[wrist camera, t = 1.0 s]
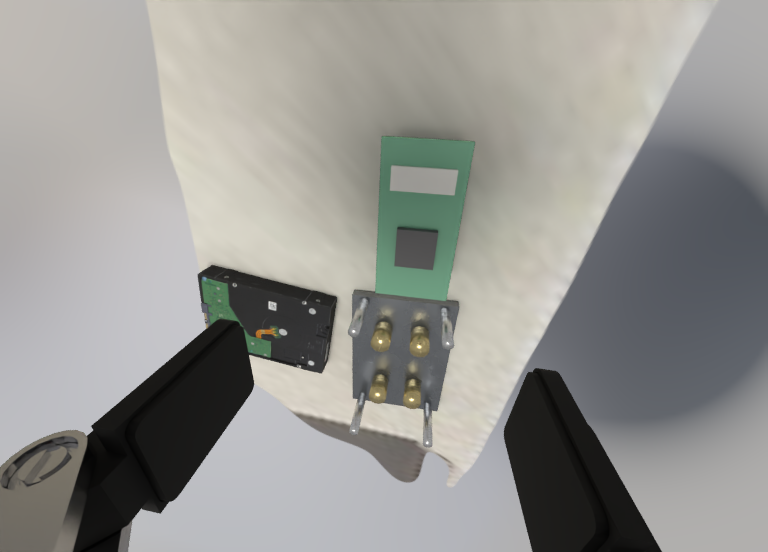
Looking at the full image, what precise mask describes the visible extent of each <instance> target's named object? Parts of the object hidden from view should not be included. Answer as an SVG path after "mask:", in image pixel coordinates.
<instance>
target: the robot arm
mask: <svg viewBox="0 0 768 552" xmlns="http://www.w3.org/2000/svg"><path fill="white" fill-rule="evenodd" d="M253 387H254V380H253V374H252V369H251V364H250V358H249V353H248V348H247V343H246V337H245V332H244V328H243V327H242V326H240V323H239V322H238V321H234V320H227V319H218V320H216V321H215V322H214V323H213V324H211V325H210V326H209V327H208V328H207V329H206V330H204V331H203V332H202V333H201V334H200V335H198V336H197V337H196V338H195V339H194V340H193V341H191V342H190V343H189V344H188V345H187V346H185V347H184V348H183V349H182V350H181V351H180V352H178V353H177V354H176V355H175V356H174V357H173V358H171V359H170V360H169V361H168V362H166V363H165V365H163V366H162V367H161V368H159V369H158V370H157V371H156V372H155V373H153V375H151V376H150V377H149V378H148V379H146V380H145V381H144V382H143V383H142V384H141V385H139V386H138V387H137V388H136V389H135V390H133V391H132V392H131V393H130V394H129V395H127V396H126V397H125V398H124V399H123V400H122V401H120V402H119V403H118V404H117V405H116V406H114V407H113V408H112V409H111V410H110V411H109V412H107V413H106V414H105V415H104V416H103V417H101V418H100V419H99V420H98V421H97V422H95V423H94V424H93V425H92V428H93V431H92V432H91V433H90V434H89V435H87V436H86V435H85V434H84V433H83V432H80V431H78V430H68V431H62V432H58V433H54V434H51V435H49V436H46V437H44V438H41V439H39V440H37V441H35V442H33V443H31V444H30V445H28V446H26V447H24V448H23V449H22V450H20V451H19V452H17V453H16V454H14V455H13V456H12V457H10V458H9V459H8V460H7V461H6V462H5V463H4V464H3V465H2V466H1V467H0V552H128V547H129V540H130V533H131V525H132V520H133V518H134V517H135V515H137V513H138V512H139V511H140V509H141V508H142V509H143V510H147V511H152V512H156V513H161V512H162V511H163V510H164V508H165V507H166V505H167V504H168V503H169V502H170V501H173V500H175V499H176V498H177V497H178V495H179V494H180V493H181V492H182V490H183V489H184V487H185V486H186V484H187V483H188V482H189V480H190V479H191V477H192V476H193V475H194V473H195V472H196V470H197V469H198V467H199V466H200V465H201V463H202V462H203V460H204V459H205V457H206V456H207V455H208V453H209V452H210V450H211V449H212V448H213V446H214V445H215V443H216V442H217V440H218V439H219V438H220V436H221V435H222V433H223V432H224V431H225V429H226V428H227V426H228V425H229V423H230V422H231V421H232V419H233V418H234V416H235V415H236V413H237V412H238V411H239V409H240V408H241V407H242V405H243V404H244V402H245V401H246V399H247V398H248V396H249V395H250V394H251V392H252V390H253ZM504 439H505V444H506V448H507V452H508V455H509V460H510V464H511V468H512V472H513V476H514V480H515V484H516V488H517V492H518V496H519V499H520V504H521V508H522V512H523V515H524V520H525V524H526V527H527V532H528V536H529V539H530V543H531V547H532V551H533V552H662V551H661V550H660V548H659V546H658V544H657V543H656V541H655V539H654V537H653V536H652V533H651V532H650V530H649V528H648V527H647V525H646V523H645V521H644V519H643V518H642V516H641V514H640V512H639V511H638V509H637V507H636V505H635V503H634V502H633V500H632V498H631V496H630V495H629V493H628V491H627V489H626V488H625V486H624V484H623V482H622V480H621V479H620V477H619V475H618V473H617V472H616V470H615V468H614V466H613V465H612V463H611V461H610V459H609V457H608V456H607V454H606V452H605V450H604V449H603V447H602V445H601V443H600V442H599V440H598V438H597V436H596V434H595V433H594V431H593V430H592V428H591V427H590V426H589V425H588V424H587V422H586V420H585V419H584V417H583V415H582V413H581V411H580V410H579V408H578V406H577V404H576V403H575V401H574V399H573V397H572V395H571V393H570V392H569V390H568V388H567V387H566V384H565V383H564V381H563V379H562V377H561V376H560V374H559V373H558V372H556V371H552V370H545V369H539V368H536V369H534V371H533V372H528V373H527V375H526V377H525V380H524V382H523V385H522V387H521V389H520V392H519V394H518V397H517V399H516V401H515V404H514V406H513V409H512V411H511V414H510V416H509V418H508V421H507V423H506V426H505V428H504Z"/></svg>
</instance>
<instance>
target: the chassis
mask: <svg viewBox="0 0 768 552" xmlns="http://www.w3.org/2000/svg"><path fill="white" fill-rule="evenodd" d="M458 311H459V303H458V302H456V301H447V300H446V301H441V300H433V299H424V298H415V297H406V296H398V295H389V294H380V293H375V292H369V291H360V290H354V292H353V294H352V322H351V325H350V327H349V330H348V334H349V335H350V336H351V337H353V398H355V399H358V400H357V404H356V408H355V411H354V415H353V419H352V423H351V427H350V431H349V432H350V434H352V435H357V434H358V431H359V426H360V422H361V418H362V413H363V409H364V405H365V400H368V401H372V402H374V403H378V404H380V403H387V404H394V405H400V406H406V407H407V408H410V409H416V408H420V409H424V422H423V445H424V446H425V447H432V410H433V411H437V410H438V405H439V400H440V395H441V391H442V386H443V381H444V377H445V372H446V367H447V362H448V358H449V353H450V349H452V348H453V347H454V340H453V334H454V329H455V325H456V320H457V315H458Z"/></svg>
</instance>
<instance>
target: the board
mask: <svg viewBox="0 0 768 552" xmlns="http://www.w3.org/2000/svg"><path fill="white" fill-rule="evenodd" d="M474 146H475V142H473V141H463V140H445V139H428V138H411V137H394V136H382V139H381V164H380V189H379V214H378V239H377V263H376V288H375V293H380V294H389V295H398V296H406V297H415V298H424V299H433V300H441V301H446V299H447V293H448V288H449V282H450V277H451V271H452V266H453V260H454V255H455V250H456V244H457V239H458V233H459V228H460V222H461V217H462V211H463V206H464V200H465V195H466V189H467V184H468V178H469V173H470V168H471V162H472V157H473V151H474Z"/></svg>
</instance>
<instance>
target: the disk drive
mask: <svg viewBox="0 0 768 552" xmlns="http://www.w3.org/2000/svg"><path fill="white" fill-rule="evenodd" d="M198 281H199V289H200V296H201V302H202V303H201V307H202V312H203V313H204V316H205V320H207V322H205V323H206V329H207V328H208V327H209V326H210V325H211V324H213V323H214V322H215V321H216V320H218V319H227V320H234V321H238V322H239V323H240V326H242V327H243V328H244V332H245V337H246V343H247V348H248V353H249V355H252V356H255V357H260V358H263V359H267V360H271V361H275V362H279V363H282V364H286V365H290V366H293V367H297V368H301V369H304V370H308V371H313V372H318V373H322V372H323V370H324V368H325V366H326V363H327V361H328V354H329V348H330V341H331V335H332V329H333V322H334V316H335V308H336V302H337V297H335V296H331V295H327V294H325V293H321V292H318V291H311V290H307V289H303V288H299V287H295V286H291V285H288V284H284V283H279V282H276V281H272V280H268V279H264V278H260V277H256V276H252V275H248V274H245V273H241V272H238V271H235V270H231V269H226V268H222V267H218V266H214V265H211V266H210V267H208V268H207V269H205V270H203V271H202V272H200V273H199V274H198Z"/></svg>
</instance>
